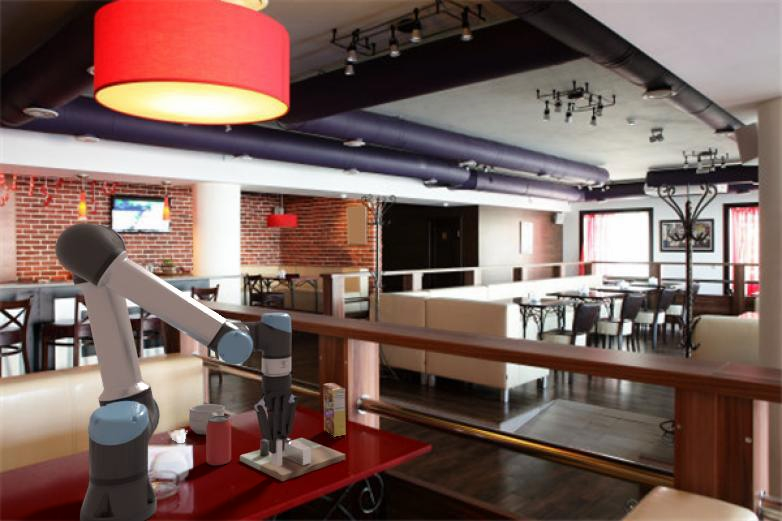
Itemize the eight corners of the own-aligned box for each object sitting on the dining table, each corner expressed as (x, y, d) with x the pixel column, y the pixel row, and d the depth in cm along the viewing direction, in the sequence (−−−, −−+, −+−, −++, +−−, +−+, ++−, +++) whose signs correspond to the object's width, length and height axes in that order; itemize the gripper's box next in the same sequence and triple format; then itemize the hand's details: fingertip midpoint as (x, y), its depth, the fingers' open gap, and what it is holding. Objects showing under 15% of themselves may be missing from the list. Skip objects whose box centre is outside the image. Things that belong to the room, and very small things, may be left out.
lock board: (282, 481, 142) (282, 459, 142) (240, 460, 156) (240, 440, 156) (345, 459, 157) (345, 439, 157) (301, 442, 171) (301, 424, 171)
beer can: (223, 467, 151) (223, 422, 151) (201, 465, 153) (201, 421, 153) (235, 458, 158) (235, 415, 158) (213, 456, 159) (213, 414, 159)
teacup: (187, 429, 184) (187, 404, 184) (222, 425, 189) (222, 401, 188) (192, 442, 171) (192, 415, 171) (228, 437, 176) (228, 411, 176)
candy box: (322, 430, 183) (322, 383, 183) (335, 428, 185) (335, 382, 185) (333, 438, 175) (333, 389, 175) (346, 436, 177) (346, 388, 177)
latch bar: (279, 456, 155) (279, 438, 155) (287, 453, 157) (287, 436, 157) (303, 466, 148) (302, 448, 148) (310, 463, 150) (310, 445, 150)
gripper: (263, 379, 138) (263, 475, 138) (306, 371, 147) (306, 461, 148) (246, 374, 143) (246, 467, 144) (288, 367, 153) (289, 454, 153)
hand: (276, 464), depth 146 cm, fingers closed
